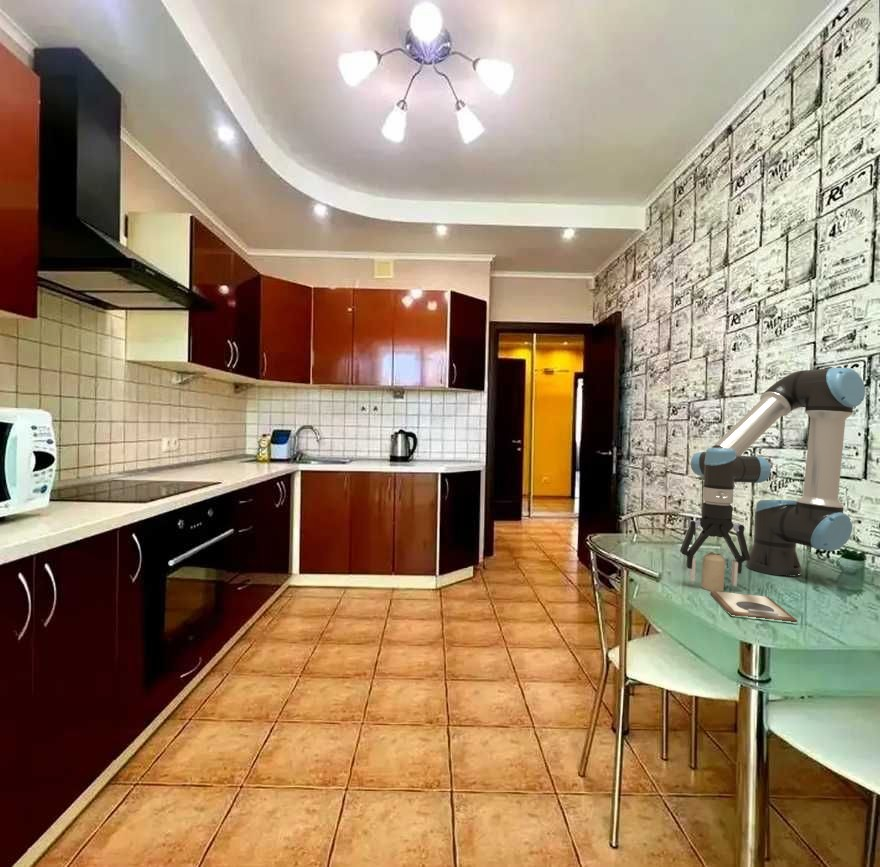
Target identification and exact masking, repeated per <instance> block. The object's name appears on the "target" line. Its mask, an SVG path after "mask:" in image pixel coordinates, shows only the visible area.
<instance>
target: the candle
mask: <svg viewBox="0 0 880 867" xmlns="http://www.w3.org/2000/svg"><path fill="white" fill-rule="evenodd" d="M725 569H726V559H725V558H724V557H723V555H721V553H715V552H712V551H710V552H708V553H707V554H705V555H704V556H703V558H702V570H701V571H702V572H701V588H702V589H704V590H706V591H710V592H711V591H719V592H724V586H725V585H724V584H725V572H726V570H725Z"/></svg>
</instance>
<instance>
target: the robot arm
mask: <svg viewBox="0 0 880 867" xmlns="http://www.w3.org/2000/svg"><path fill="white" fill-rule="evenodd" d="M865 396H866V387H865V383H864V381H863V379H862V377H861V376H860V374H859V373H858V372H857V371H856V370H855V369H853V368H851V367H828V368H819V369H818V368H816V369H804V370H798V371H795V372H792V373H790V374H787V375H786V376H784V377H782V378H781V379H779V380H778V381H776V382H775V383H773V384H772V385H771V386H770V387H769V388H768V389H766V390H765V391H764V392H763V393H762V394H761V396H760V398H759V401H758V402H757V403H756V405H755V406H753V407H752V408H751V409H750V410H749V411H748V412H747V413H746V414H745V415H744V416H743V417H742V418H741V419H740V420H738V421H737V422H736V423H735V425H734V426H732V428H730V429H729V430H728V431H727V432H726V433H725V434H724V435H723V436H722V437H721V438H720V439H719V440H718V441H717V442H716V443H715V444H714V445H713V446H712V447H708V448H707V449H706V451H700V452H696V453H695V454H693V456H692V457H691V459H690V469H691V470H692V472H693V473H694V474H695V475H697V476H700V477H703V488H702V500H703V502H702V505H701V518H700V519H699V520H693V519H690V520H688V528H687V530H686V531H687V532H686V534H685V536H684V539H683V542H682V544H681V548H680V549H679V552H680V553H681V554H682V555H684V556H686V566H685V567H686V568H687V569H689V577H688V578H689V580H690V581H691V582H695V581H696V566H697V565H696V564H697V562H696V561H697V558H696V557H695V554H696V553H697V552H698V551H699V550H700V548H701V546H702V545H703V544H704V542H705V541H706V540H707V539H708V538H709V537H712V538H714V537H718V538H722V539H724V542H726V544H727V547H728V548H729V549H730V551H731V554H732V555H733V557H734V559H732V560H731V561H732V562H731V574H730V584H731V585H732V586H734V587H737V586H738V574H740V575H741V573H742V570H743V568H742V567H743V563H744V562H745V561H746V563H745V564H746V566H745V567H747V568H748V569H750V570H753V571H755V572H759V573H763V574H767V575H772V574H773V575H774V576H779V575H786V576H785V577H791V576H790V575H798V574H800V573H801V574H802V567H801V566H802V565H801V564H800V559H799V556H798V553H797V549H796V548H797V545H801V546H806V547H808V548H810V547H811V548H813V549H815V550H822V551H827V552H834V551H837V550H839V549H841V548H844V546H845V545H846V544H847V543H848V541H849V539H850V538H851V535H852V531H853V522H852V521H851V517H850V516H849V515H848V514H846V513H844V505H843V504H842V503H841V502H840V501H839V493H840V481H841V473H842V472H841V471H842V459H843V449H844V438H845V428H846V420H847V419H848V418H849V417H851V416H852V415H853V412H854V408H856V407H858V406H860V405H861V404H863V403H862V402H863V401H864V398H865ZM800 408H805V409H804V413H805V414H806V415H807V416H809V428H808V430H809V432H808V441H807V450H806V451H807V452H806V462H805V471H804V472H805V473H804V484H803V492H802V493H803V495H802V496H801V497H800V498H798V499H797V500H793V499H787V500H786V499H761V500H758V501H757V502H756V505H755V511H754V532H753V533H754V534H753V545H752V547H751V549H750V551H749V549H748V545H747V542H746V541H747V540H746V538H745V525H744V524H741V523H733V506H732V505H731V504H733V502H734V489H735V483H751V484H756V483H757V484H758V483H764V482H766V481H767V480H768V479H769V478H770V476H771V472H772V470H771V469H772V467H771V465H770V462H769V461H768V460H767V459H766V458H764V457H762V456H757V455H752V456H751V455H743V454H744V453H745V452H746V451H747V450H748V449H749V448H750V447H751V446H752V445H753V444H754V443H756V442H757V440H759V438H760V437H761V436H763V434H764V433H765V432H767V431H768V429H769V428H770V427H771V426H773V425H774V424H775V423H776V422H777V420H778V419H780V418H781V417H785V416H787V415H789V414H790V413H791V412H792V411H794V410H796V409H800ZM699 526H700V527H701V529H702V530H701V532H700V533H699V536H698V537H697V538H696V539H695V541H694V542H693V544H692V545H691V543H692V540H693V538H694V535H695V532H696V529H698V528H699ZM732 529H733V530H734V532H736V537H737V538H736V539H737V541H738V545H739V550H740V552H739V551H738V548H737V547H736V544H735V543H734V541H733V539H732V538H731V535H730V533H729V532H730V531H732ZM690 545H691V547H690ZM787 575H789V576H787Z"/></svg>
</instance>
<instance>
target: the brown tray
mask: <svg viewBox="0 0 880 867" xmlns="http://www.w3.org/2000/svg"><path fill="white" fill-rule="evenodd" d="M709 594H710V596H711V597H712V598H713V599H714V600H715V601H716V603H718V605H719V606H722V607H723V608H724V609H725V610H726V611H727V612H729V613H730V614H731V615H735V616H748V617H756V618H765V619H774V620H782V621H791V622H797V623H798V620H797V618H795V617H794V616H792V615H791V614H790V613H789V612H788V611H786V610H785V609H784V608H783V607H781V606H780V605H779V604H777V602H775V601H774V600H773V599H772V598H770V597H769V596H764V595H758V594H757V595H755V594H745V593H736V592H727V591H721V592H719V591H710V593H709ZM722 607H721V608H722ZM723 608H722V609H723ZM724 609H723V610H724ZM725 610H724V611H725ZM726 611H725V612H726ZM727 612H726V613H727Z"/></svg>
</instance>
